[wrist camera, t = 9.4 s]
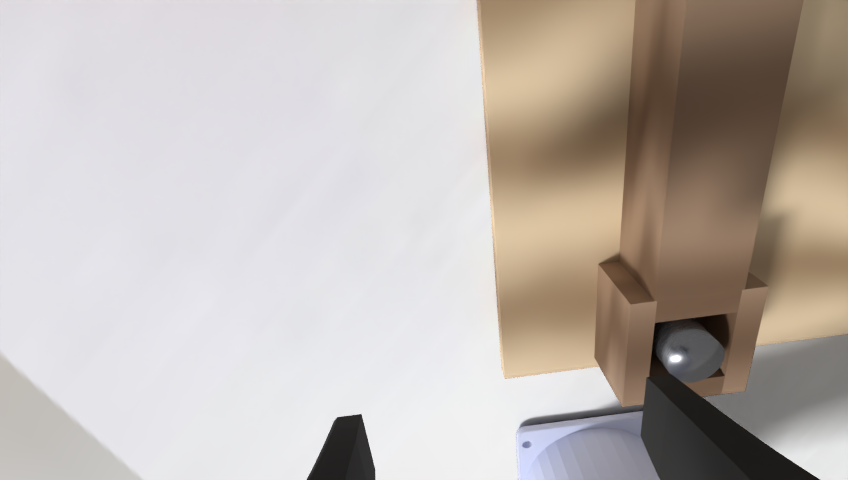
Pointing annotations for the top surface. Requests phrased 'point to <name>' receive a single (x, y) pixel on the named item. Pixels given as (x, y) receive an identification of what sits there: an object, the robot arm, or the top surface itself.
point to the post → (687, 349)
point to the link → (694, 184)
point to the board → (605, 165)
